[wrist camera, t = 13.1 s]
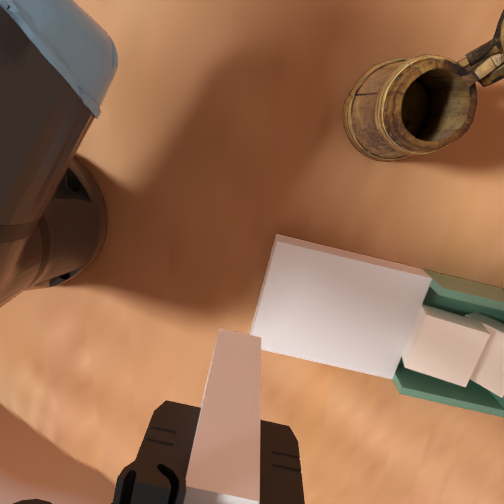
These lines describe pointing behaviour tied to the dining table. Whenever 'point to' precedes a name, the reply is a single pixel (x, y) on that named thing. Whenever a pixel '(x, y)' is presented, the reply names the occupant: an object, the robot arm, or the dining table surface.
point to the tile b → (490, 356)
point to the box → (461, 303)
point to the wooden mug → (419, 101)
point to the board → (337, 306)
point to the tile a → (444, 345)
